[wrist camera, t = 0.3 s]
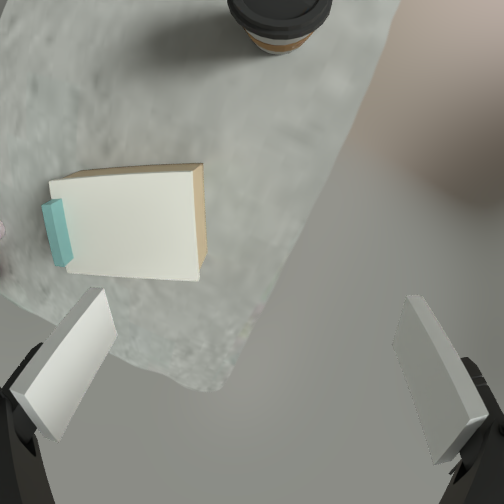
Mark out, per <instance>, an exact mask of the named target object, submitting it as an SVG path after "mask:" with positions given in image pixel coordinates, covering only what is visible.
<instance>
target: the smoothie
mask: <svg viewBox="0 0 504 504" xmlns="http://www.w3.org/2000/svg"><path fill="white" fill-rule="evenodd" d="M4 235H5V228H4V225H3V223H2V222H1V220H0V239H1V238H3V237H4Z"/></svg>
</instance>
